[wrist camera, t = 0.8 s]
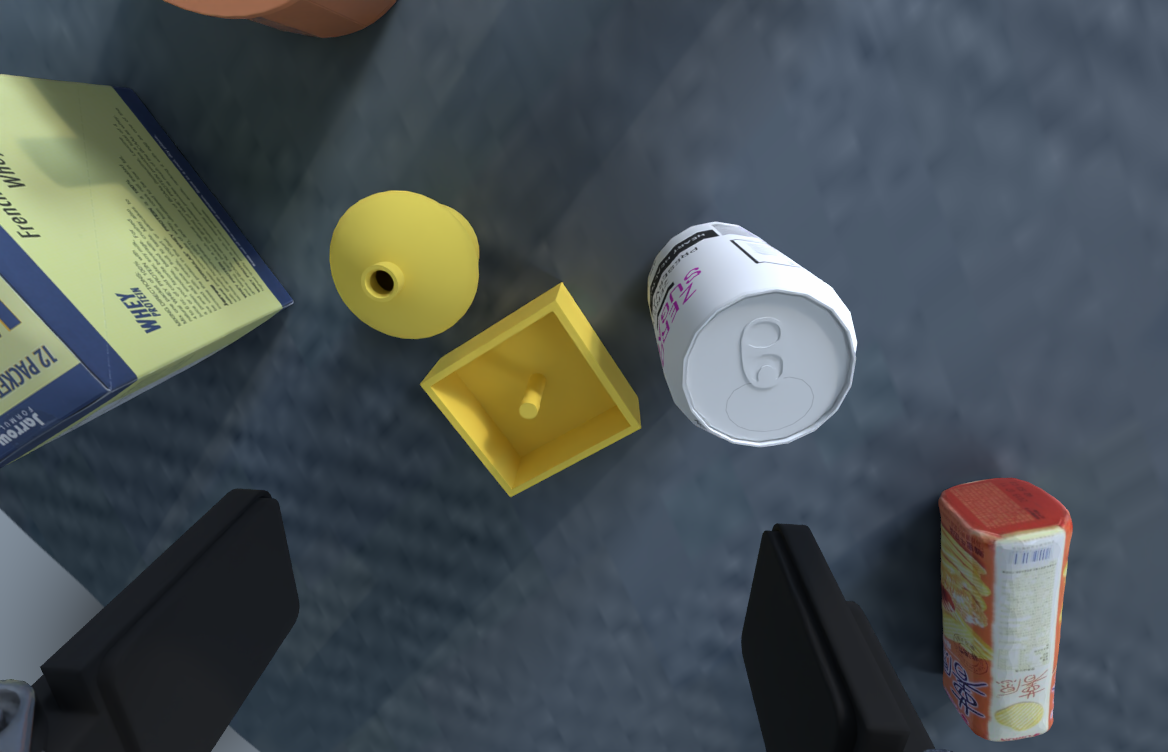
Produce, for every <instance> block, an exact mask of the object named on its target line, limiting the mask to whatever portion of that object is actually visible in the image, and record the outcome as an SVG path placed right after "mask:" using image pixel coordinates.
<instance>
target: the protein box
mask: <svg viewBox="0 0 1168 752" xmlns="http://www.w3.org/2000/svg"><path fill="white" fill-rule="evenodd" d="M293 303H294V301H293V299H292V298H291V297H290V295H289V294H288V293H287V291H286V290H285V289H284V287H283V286H282V285H281V284H280V282H279V281H278V280H277V278H276V277H275V276H274V274H273V273H272V272H271V270H270V269H269V268H268V267H267V265H266V264H265V263H264V261H263V260H262V259H261V257H260V256H259V255H258V253H257V252H256V251H255V249H254V248H253V247H252V245H251V244H250V243H249V241H248V240H247V239H246V238H245V236H244V235H243V234H242V232H241V231H240V230H239V228H238V227H237V226H236V224H235V223H234V222H233V220H232V219H231V218H230V216H229V215H228V214H227V213H226V211H225V210H224V209H223V207H222V206H221V205H220V203H219V202H218V201H217V199H216V198H215V197H214V195H213V194H212V193H211V192H210V190H209V189H208V188H207V186H206V185H205V184H204V182H203V181H202V180H201V179H200V177H199V176H198V175H197V173H196V172H195V171H194V170H193V168H192V167H191V166H190V164H189V163H188V162H187V160H186V159H185V158H184V156H183V155H182V154H181V153H180V151H179V150H178V149H177V147H176V146H175V145H174V143H173V142H172V141H171V139H170V138H169V137H168V136H167V134H166V133H165V132H164V130H163V129H162V128H161V126H160V125H159V124H158V122H157V121H156V120H155V118H154V117H153V116H152V115H151V113H150V112H149V111H148V109H147V108H146V107H145V105H144V104H143V103H142V102H141V100H140V99H139V98H138V96H137V95H136V94H135V93H134V91H133V90H132V89H130V88H125V87H115V86H107V85H96V84H87V83H78V82H67V81H57V80H48V79H40V78H31V77H21V76H12V75H4V74H0V468H2V467H4V466H5V465H7V464H9V463H11V462H13V461H15V460H17V459H19V458H21V457H23V456H25V455H26V454H28V453H30V452H32V451H34V450H36V449H38V448H40V447H42V446H43V445H45V444H47V443H49V442H51V441H53V440H55V439H57V438H59V437H61V436H62V435H64V434H66V433H68V432H70V431H72V430H74V429H76V428H78V427H80V426H81V425H83V424H85V423H87V422H89V421H91V420H93V419H95V418H96V417H98V416H100V415H102V414H104V413H106V412H108V411H110V410H112V409H113V408H115V407H117V406H119V405H121V404H123V403H125V402H127V401H129V400H130V399H132V398H134V397H136V396H138V395H140V394H142V393H143V392H145V391H147V390H149V389H151V388H153V387H155V386H156V385H158V384H160V383H162V382H164V381H166V380H167V379H169V378H171V377H173V376H175V375H177V374H179V373H181V372H182V371H184V370H186V369H188V368H190V367H192V366H194V365H196V364H197V363H199V362H201V361H203V360H204V359H206V358H208V357H209V356H211V355H213V354H215V353H216V352H218V351H220V350H221V349H223V348H225V347H226V346H228V345H230V344H231V343H233V342H235V341H236V340H238V339H239V338H241V337H242V336H244V335H245V334H247V333H249V332H250V331H252V330H253V329H255V328H256V327H258V326H259V325H261V324H263V323H264V322H266V321H267V320H269V319H270V318H272V317H273V316H275V315H276V314H278V313H279V312H281V311H282V310H284V309H286V308H287V307H289V306H290V305H292V304H293Z"/></svg>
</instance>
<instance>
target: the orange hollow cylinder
mask: <svg viewBox="0 0 1168 752" xmlns="http://www.w3.org/2000/svg"><path fill="white" fill-rule="evenodd" d="M396 1H397V0H299V1H298V2H296V3H294V4H293V5H291V6H289V7H287V8H285V9H282V10H280V11H277V12H275V13H272V14H269V15H264V16H260V17H255V18H246V19H248V20H251V21H254V22H258V23H261V24H264V25H267V26H270V27H273V28H276V29H279V30H282V31H288V32H293V33H298V34H302V35H306V36H312V37H319V38H329V37H338V36H343V35H348V34H351V33H354V32H357V31H359V30H362V29H364V28H366V27H367V26H369V25H371V24H372V23H374V22H375V21H377V20H378V19H379V18H380V17H382V16H383V15H384V14H385V13H386V12H387V11H388V10H389V9H390V8H391V7H392V6H393V5H394V4H395V2H396Z"/></svg>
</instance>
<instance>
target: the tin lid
mask: <svg viewBox="0 0 1168 752" xmlns="http://www.w3.org/2000/svg"><path fill="white" fill-rule="evenodd" d="M163 1H165V2H167V3H170V4H172V5H175V6H177V7H180V8H182V9H185V10H188V11H191V12H195V13H199V14H203V15H206V16H210V17H217V18H226V19H246V18H255V17H260V16H264V15H269V14H272V13H275V12H277V11H280V10H282V9H285V8H287V7H289V6H291V5H293V4H294V3H296V2H298V1H299V0H163Z"/></svg>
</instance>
